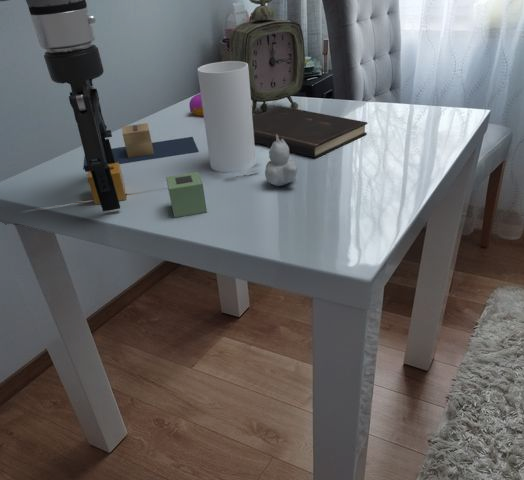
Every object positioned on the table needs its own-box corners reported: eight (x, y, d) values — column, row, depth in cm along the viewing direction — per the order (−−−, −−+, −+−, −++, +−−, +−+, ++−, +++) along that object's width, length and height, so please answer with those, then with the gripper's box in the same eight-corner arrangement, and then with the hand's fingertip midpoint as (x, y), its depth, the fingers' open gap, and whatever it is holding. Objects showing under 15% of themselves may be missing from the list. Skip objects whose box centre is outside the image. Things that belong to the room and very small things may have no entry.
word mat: (83, 172, 95) (82, 169, 94) (85, 155, 102) (84, 152, 102) (199, 154, 98) (199, 151, 97) (192, 139, 105) (192, 136, 105)
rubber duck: (282, 175, 86) (280, 126, 81) (308, 185, 82) (307, 134, 77) (257, 184, 84) (253, 134, 79) (283, 195, 80) (280, 143, 75)
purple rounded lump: (214, 104, 124) (212, 84, 121) (243, 110, 119) (241, 89, 116) (182, 115, 119) (179, 94, 116) (211, 122, 113) (208, 100, 110)
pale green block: (174, 217, 76) (168, 188, 74) (171, 204, 80) (165, 176, 77) (207, 212, 77) (202, 182, 74) (202, 199, 81) (198, 171, 78)
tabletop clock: (249, 123, 110) (237, -17, 94) (231, 114, 117) (217, -19, 101) (305, 110, 115) (303, -26, 99) (285, 102, 121) (280, -27, 105)
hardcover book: (281, 117, 112) (280, 106, 111) (366, 134, 99) (367, 122, 98) (228, 137, 104) (227, 125, 103) (314, 159, 91) (314, 146, 90)
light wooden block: (128, 158, 97) (122, 133, 94) (127, 150, 101) (121, 126, 98) (154, 154, 98) (148, 129, 95) (152, 146, 102) (147, 122, 99)
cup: (255, 173, 88) (246, 70, 78) (208, 176, 88) (194, 74, 78) (256, 156, 94) (249, 59, 84) (213, 159, 95) (200, 63, 84)
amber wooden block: (95, 204, 82) (87, 177, 80) (96, 193, 86) (88, 166, 83) (126, 199, 83) (119, 172, 80) (125, 188, 87) (118, 161, 84)
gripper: (95, 58, 62) (137, 219, 75) (98, 31, 81) (131, 164, 94) (32, 67, 61) (86, 228, 74) (50, 37, 80) (90, 170, 93)
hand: (111, 193), depth 84 cm, fingers open, 13 cm apart
